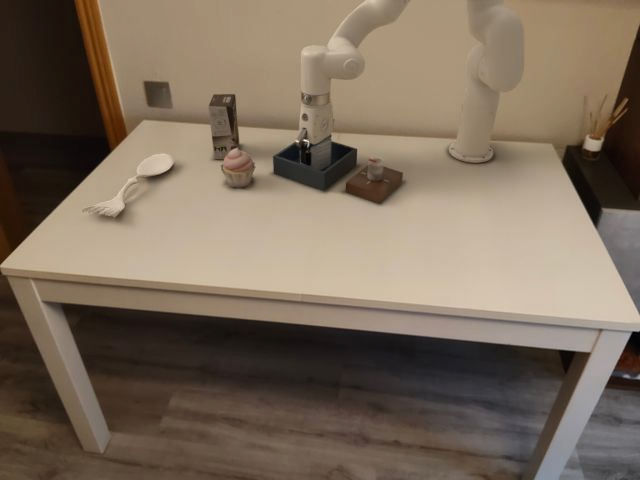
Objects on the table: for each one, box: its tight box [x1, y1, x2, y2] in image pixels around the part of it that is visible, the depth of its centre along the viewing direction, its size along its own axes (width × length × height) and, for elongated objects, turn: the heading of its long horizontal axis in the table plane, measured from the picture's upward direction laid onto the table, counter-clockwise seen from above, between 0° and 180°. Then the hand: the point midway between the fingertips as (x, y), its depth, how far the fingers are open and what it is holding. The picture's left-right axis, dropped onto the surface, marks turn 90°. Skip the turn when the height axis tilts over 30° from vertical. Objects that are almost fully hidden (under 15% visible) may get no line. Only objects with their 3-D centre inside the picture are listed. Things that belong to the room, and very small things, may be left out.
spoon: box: [82, 153, 174, 218], centre depth 141 cm, size 9×32×4 cm, turn 164°
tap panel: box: [344, 164, 404, 205], centre depth 143 cm, size 13×10×3 cm
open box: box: [272, 138, 358, 192], centre depth 150 cm, size 17×17×5 cm
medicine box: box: [300, 137, 332, 170], centre depth 149 cm, size 8×4×9 cm, turn 134°
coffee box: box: [208, 93, 241, 160], centre depth 155 cm, size 9×6×16 cm
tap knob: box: [367, 157, 385, 181], centre depth 141 cm, size 4×4×5 cm
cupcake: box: [220, 148, 257, 189], centre depth 143 cm, size 9×9×10 cm
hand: (315, 157), depth 149 cm, fingers closed on medicine box, 8 cm apart
